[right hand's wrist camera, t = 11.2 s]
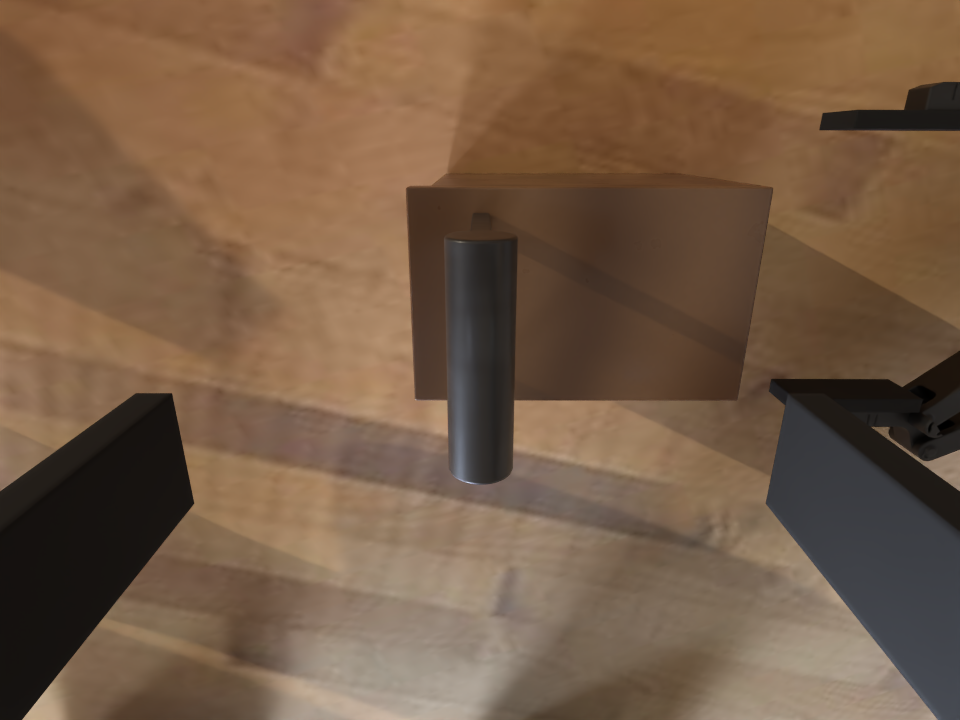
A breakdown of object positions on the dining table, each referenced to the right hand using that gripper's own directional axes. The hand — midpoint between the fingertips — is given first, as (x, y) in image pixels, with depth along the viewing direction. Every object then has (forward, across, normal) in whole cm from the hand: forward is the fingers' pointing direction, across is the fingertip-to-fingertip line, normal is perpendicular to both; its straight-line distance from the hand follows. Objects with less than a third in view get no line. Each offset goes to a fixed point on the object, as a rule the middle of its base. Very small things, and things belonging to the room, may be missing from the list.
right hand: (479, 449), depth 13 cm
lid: (+14, -4, 0) cm, 14 cm away
